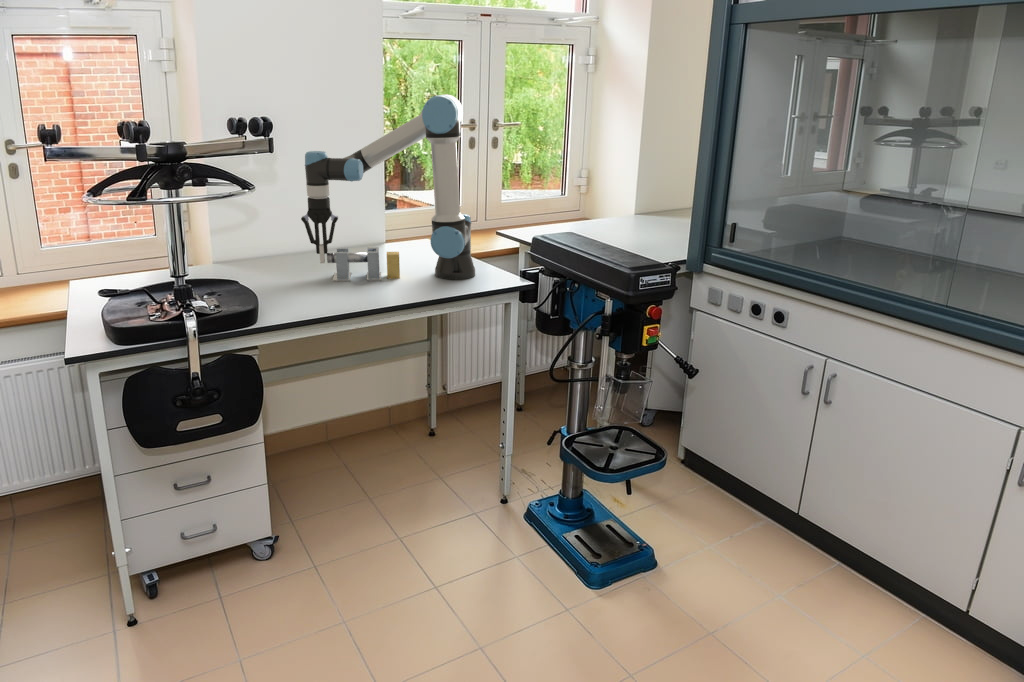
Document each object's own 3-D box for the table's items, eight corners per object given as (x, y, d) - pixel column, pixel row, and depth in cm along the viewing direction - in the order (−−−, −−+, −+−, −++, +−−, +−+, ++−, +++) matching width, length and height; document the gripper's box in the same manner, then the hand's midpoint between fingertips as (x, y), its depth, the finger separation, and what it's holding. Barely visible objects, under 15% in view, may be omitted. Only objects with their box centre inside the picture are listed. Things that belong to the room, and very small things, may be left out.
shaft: (372, 260, 271) (372, 251, 269) (372, 263, 267) (372, 253, 266) (328, 261, 268) (327, 251, 267) (327, 264, 265) (326, 254, 263)
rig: (381, 273, 276) (380, 246, 272) (381, 280, 267) (379, 253, 263) (334, 274, 273) (332, 247, 270) (332, 281, 264) (331, 253, 260)
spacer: (399, 275, 274) (398, 251, 271) (399, 278, 270) (399, 254, 267) (387, 275, 274) (386, 251, 270) (387, 278, 269) (386, 254, 266)
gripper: (338, 195, 262) (341, 259, 270) (300, 195, 260) (305, 260, 268) (336, 198, 255) (340, 264, 263) (298, 198, 253) (303, 265, 261)
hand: (322, 262), depth 266 cm, fingers closed
